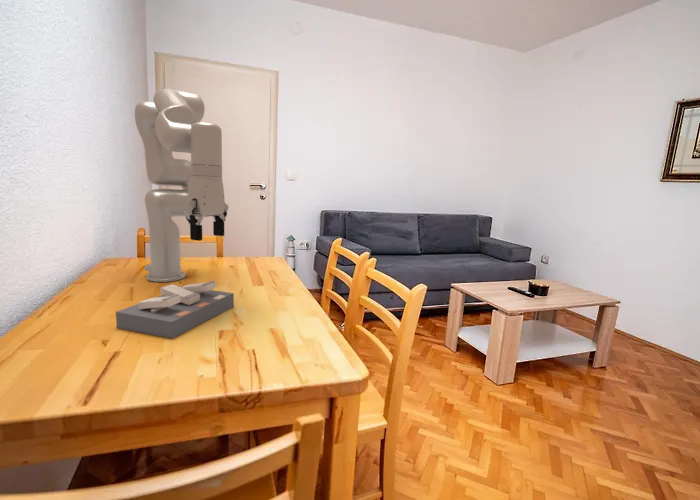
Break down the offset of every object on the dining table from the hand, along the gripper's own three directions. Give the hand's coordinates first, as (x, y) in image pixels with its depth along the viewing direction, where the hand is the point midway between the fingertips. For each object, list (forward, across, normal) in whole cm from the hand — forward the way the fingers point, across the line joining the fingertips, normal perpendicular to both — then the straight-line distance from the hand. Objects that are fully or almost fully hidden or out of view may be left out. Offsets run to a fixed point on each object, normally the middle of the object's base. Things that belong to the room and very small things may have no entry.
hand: (208, 237), depth 99 cm
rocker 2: (+14, +7, -4) cm, 16 cm away
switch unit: (+20, +7, -4) cm, 22 cm away
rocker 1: (+14, +14, -4) cm, 20 cm away
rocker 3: (+14, 0, -3) cm, 15 cm away
